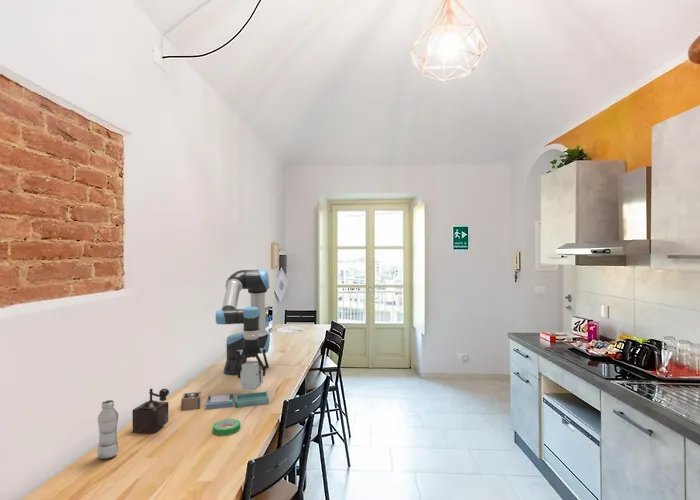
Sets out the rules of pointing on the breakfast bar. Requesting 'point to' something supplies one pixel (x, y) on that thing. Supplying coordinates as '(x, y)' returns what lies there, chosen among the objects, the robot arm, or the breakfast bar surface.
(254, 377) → the supplement box
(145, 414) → the manual coffee grinder
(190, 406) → the brown open box
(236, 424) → the tape roll
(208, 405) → the base
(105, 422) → the plastic bottle
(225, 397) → the checker plate
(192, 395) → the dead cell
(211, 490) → the breakfast bar surface
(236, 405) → the teal shallow tray
